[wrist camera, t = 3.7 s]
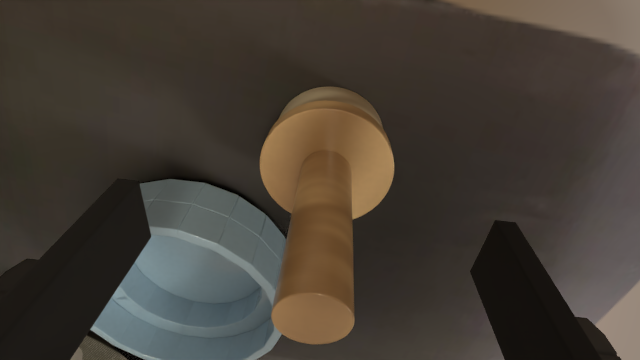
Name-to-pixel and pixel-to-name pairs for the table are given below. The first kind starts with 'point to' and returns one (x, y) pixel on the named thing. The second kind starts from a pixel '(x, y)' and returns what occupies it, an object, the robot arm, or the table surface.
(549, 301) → the robot arm
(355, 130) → the brush
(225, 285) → the bowl
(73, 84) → the table surface
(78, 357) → the planter
